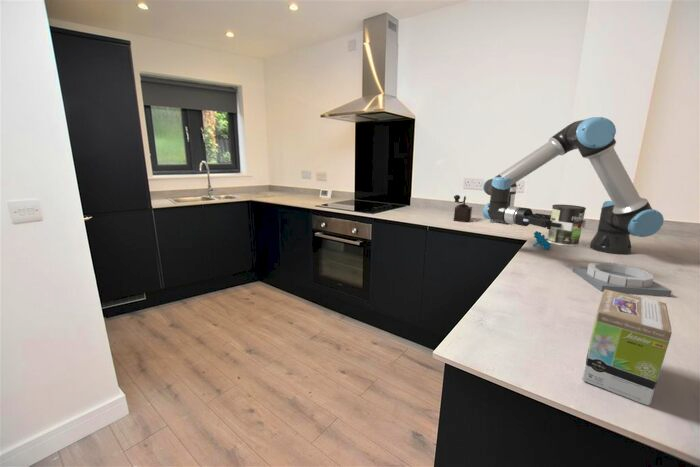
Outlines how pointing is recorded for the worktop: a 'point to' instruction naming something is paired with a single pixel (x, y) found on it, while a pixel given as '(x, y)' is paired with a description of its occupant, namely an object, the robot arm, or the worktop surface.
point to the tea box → (628, 345)
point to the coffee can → (570, 216)
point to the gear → (541, 240)
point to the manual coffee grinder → (462, 211)
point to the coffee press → (511, 197)
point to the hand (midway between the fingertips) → (578, 225)
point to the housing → (621, 279)
